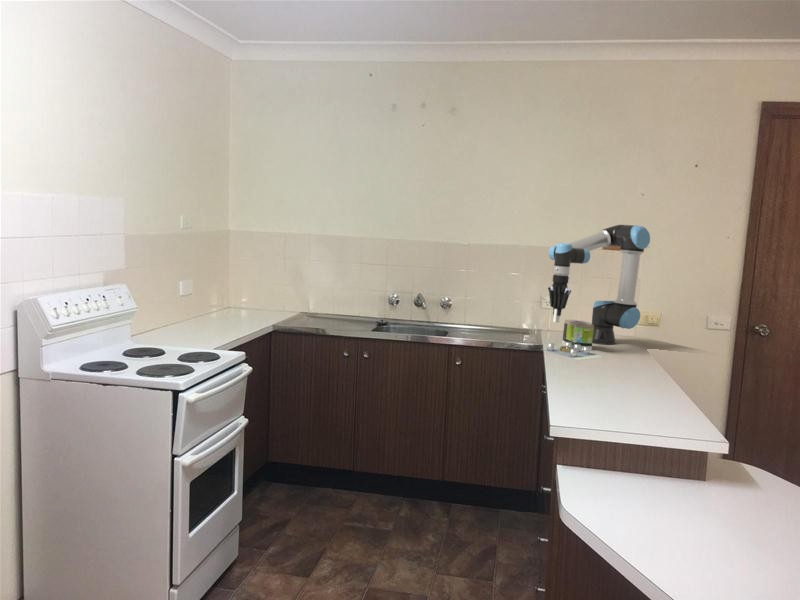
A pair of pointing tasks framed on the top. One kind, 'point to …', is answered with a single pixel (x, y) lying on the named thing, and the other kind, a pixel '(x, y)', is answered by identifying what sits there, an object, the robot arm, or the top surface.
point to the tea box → (578, 333)
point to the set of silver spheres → (572, 351)
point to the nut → (564, 349)
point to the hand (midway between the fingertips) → (556, 321)
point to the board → (579, 354)
